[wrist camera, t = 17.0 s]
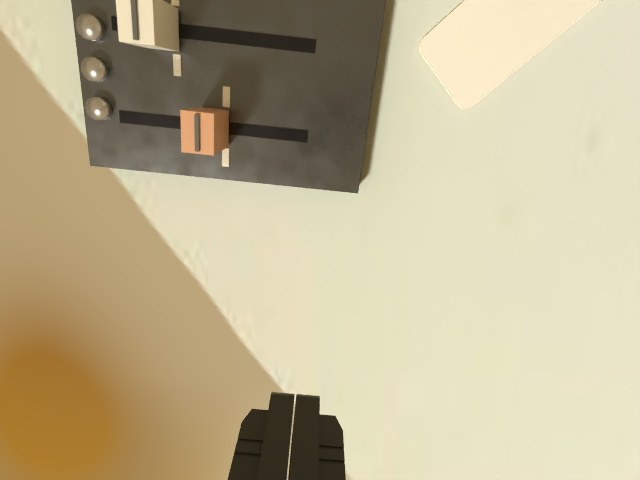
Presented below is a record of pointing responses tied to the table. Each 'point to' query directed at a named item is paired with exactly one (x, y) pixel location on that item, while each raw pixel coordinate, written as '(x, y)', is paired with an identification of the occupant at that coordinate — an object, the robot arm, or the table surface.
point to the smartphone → (493, 41)
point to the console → (236, 89)
